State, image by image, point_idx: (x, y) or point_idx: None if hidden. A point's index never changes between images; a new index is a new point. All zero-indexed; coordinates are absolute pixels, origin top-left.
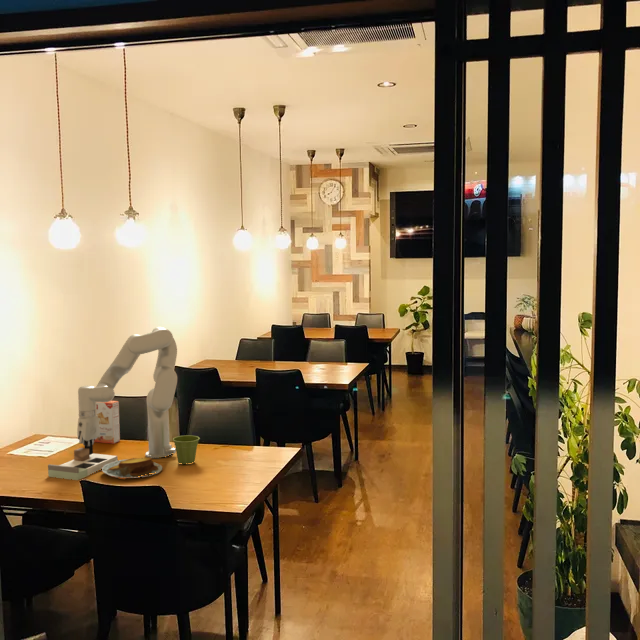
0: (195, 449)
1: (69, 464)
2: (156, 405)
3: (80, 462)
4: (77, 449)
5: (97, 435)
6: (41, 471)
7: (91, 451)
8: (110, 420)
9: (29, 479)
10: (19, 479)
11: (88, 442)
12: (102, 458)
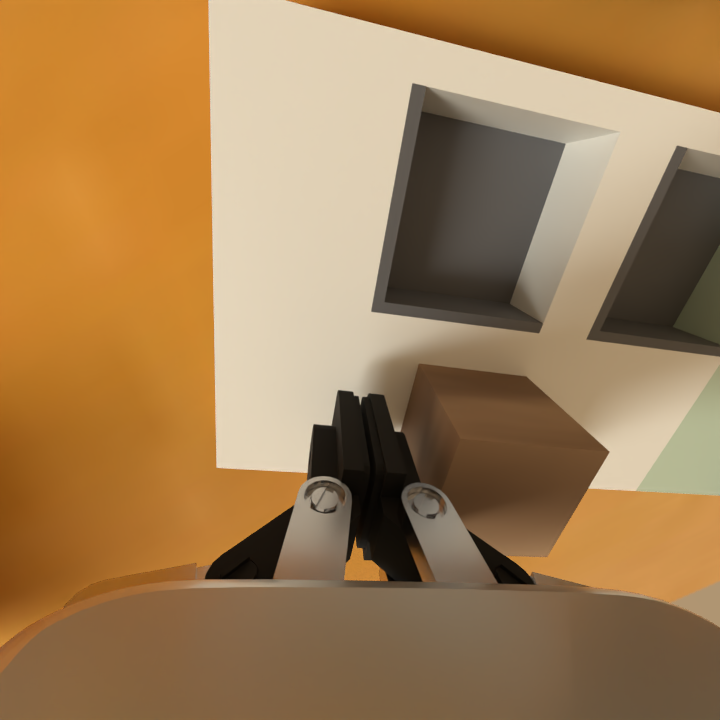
0: None
1: (620, 432)
2: None
3: (566, 374)
4: (510, 544)
5: (202, 640)
6: (558, 545)
7: (359, 413)
8: None
9: (711, 516)
10: (695, 554)
11: (460, 550)
12: (394, 201)
